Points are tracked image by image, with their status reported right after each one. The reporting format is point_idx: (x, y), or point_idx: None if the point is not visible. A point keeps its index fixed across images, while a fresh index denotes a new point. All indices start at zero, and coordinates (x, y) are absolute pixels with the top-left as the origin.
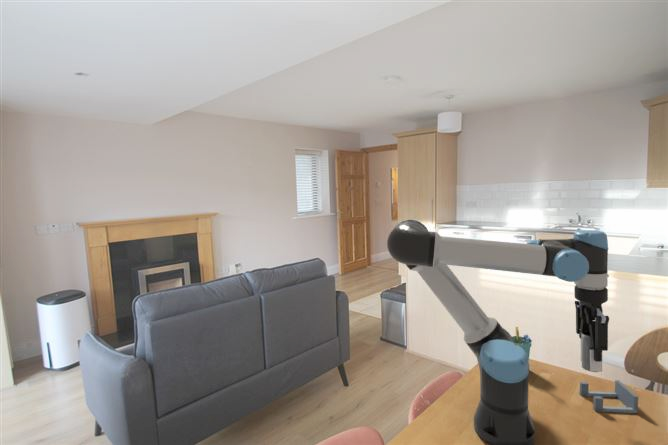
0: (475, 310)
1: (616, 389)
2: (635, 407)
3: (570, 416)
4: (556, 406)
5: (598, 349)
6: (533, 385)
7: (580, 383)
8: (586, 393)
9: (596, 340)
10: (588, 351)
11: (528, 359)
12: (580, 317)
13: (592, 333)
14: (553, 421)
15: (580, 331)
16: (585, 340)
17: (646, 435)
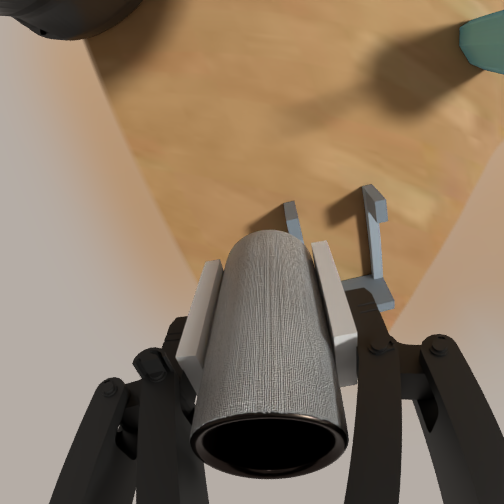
0: None
1: (380, 286)
2: None
3: (227, 127)
4: (273, 95)
5: (99, 391)
6: (388, 51)
7: (381, 199)
8: (366, 204)
9: (88, 439)
10: (212, 325)
11: (495, 66)
12: (466, 497)
13: (139, 477)
14: (180, 77)
15: (384, 389)
16: (214, 378)
17: None
